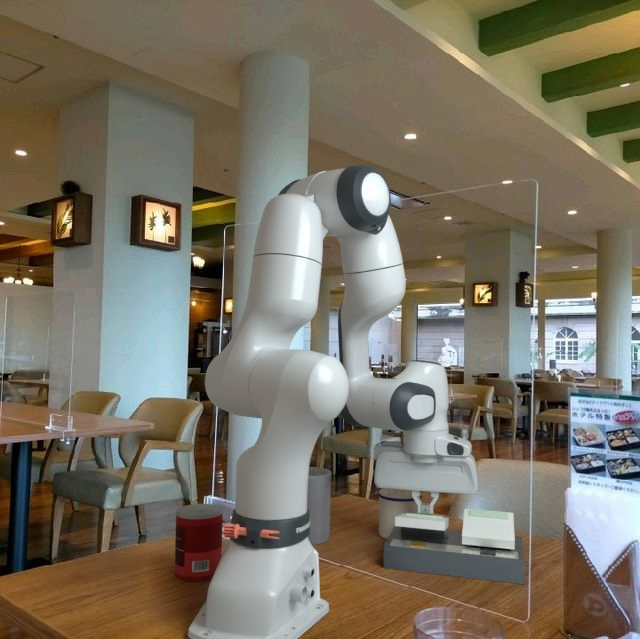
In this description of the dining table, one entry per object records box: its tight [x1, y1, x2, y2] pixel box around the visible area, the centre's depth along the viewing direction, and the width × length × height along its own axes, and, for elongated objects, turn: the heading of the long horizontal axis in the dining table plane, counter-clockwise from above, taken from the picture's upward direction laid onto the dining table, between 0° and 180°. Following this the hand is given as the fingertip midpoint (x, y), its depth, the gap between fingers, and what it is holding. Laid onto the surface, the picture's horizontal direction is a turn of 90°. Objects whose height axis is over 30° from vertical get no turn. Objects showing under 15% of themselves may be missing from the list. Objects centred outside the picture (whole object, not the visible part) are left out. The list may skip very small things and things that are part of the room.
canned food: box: [174, 503, 224, 583], centre depth 108 cm, size 8×8×11 cm
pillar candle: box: [307, 465, 332, 546], centre depth 128 cm, size 10×10×15 cm
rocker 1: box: [395, 513, 450, 531], centre depth 118 cm, size 10×9×2 cm
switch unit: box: [383, 526, 526, 585], centre depth 115 cm, size 14×24×5 cm, turn 74°
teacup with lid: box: [377, 488, 423, 540], centre depth 132 cm, size 12×9×12 cm
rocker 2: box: [462, 508, 516, 550], centre depth 115 cm, size 10×9×2 cm
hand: (425, 513), depth 123 cm, fingers closed, pressing on rocker 1
